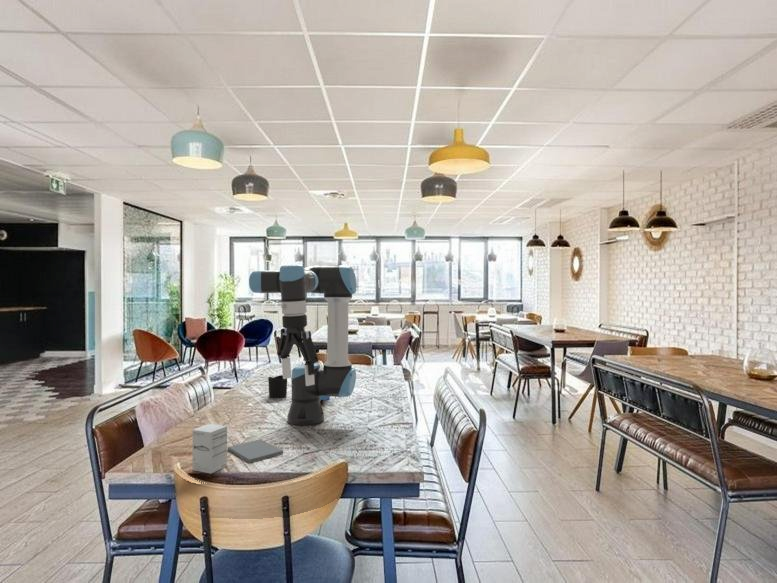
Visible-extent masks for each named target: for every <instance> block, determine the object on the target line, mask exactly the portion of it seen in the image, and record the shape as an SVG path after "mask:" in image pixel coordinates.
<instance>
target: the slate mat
mask: <svg viewBox="0 0 777 583" xmlns="http://www.w3.org/2000/svg"><path fill="white" fill-rule="evenodd" d="M227 451H229V452H231V453H232V452H233V454H234V455H236V456H237V455H238V456H237V457H239V458H241V459H243V460H245V461H246V462H248V463H253V461H254V462H257V460H258V461H260V460H264V458H265V459H268V457H269V458H272V457H275V455H276V456H279V455H283V454H284V450H283V449H281V448H279V447H277V446H275V445H273V444H271V443H270V442H267V441H264V440H263V439H260V438H259V439H255V440H251V441H246V442H243V443H239V444H234V445H230V446H227ZM282 453H283V454H282ZM278 454H279V455H278Z"/></svg>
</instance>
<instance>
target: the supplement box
mask: <svg viewBox="0 0 777 583" xmlns="http://www.w3.org/2000/svg"><path fill="white" fill-rule="evenodd" d="M227 466H228V426H227V425H220V424H215V423H207V424H204V425H202V426H199V427H196V428H194V429H192V471H194V472H200V473H205V474H209V475H212V474H213V473H215V472H218V471H220V470H221V469H223V468H225V467H227Z"/></svg>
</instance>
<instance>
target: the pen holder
mask: <svg viewBox="0 0 777 583" xmlns="http://www.w3.org/2000/svg"><path fill="white" fill-rule="evenodd" d="M267 379H268V381H267V382H268V397H269V398H271V399H283V398H286V397H287V394H288V392H287V391H288V378H287V379H283V374H281V375H277V376H274V377H272V376H268V378H267Z"/></svg>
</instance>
